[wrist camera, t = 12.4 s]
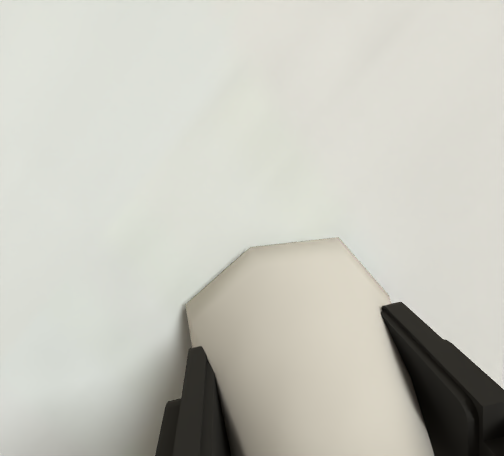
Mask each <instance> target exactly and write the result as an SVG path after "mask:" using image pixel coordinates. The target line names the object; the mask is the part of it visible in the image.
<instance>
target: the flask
mask: <svg viewBox="0 0 504 456" xmlns="http://www.w3.org/2000/svg"><path fill="white" fill-rule="evenodd" d="M388 304H391V301H390V298H389V295H388V294H387V293H386V292H385V290H384V289H383V288H382V287H381V286H380V285H379V283H378V282H377V281H376V280H375V279H374V278H373V277H372V275H371V274H370V273H369V272H368V271H367V270H366V268H365V267H364V266H363V265H362V264H361V263H360V261H359V260H358V259H357V258H356V257H355V256H354V254H353V253H352V252H351V251H350V250H349V249H348V248H347V246H346V245H345V244H344V243H343V242H342V241H341V239H340V238H339V237H336V238H327V239H318V240H309V241H301V242H292V243H283V244H274V245H265V246H256V247H250V248H249V249H248V250H247V251H245V252H244V253H243V254H242V255H241V256H240V257H239V258H238V259H236V260H235V261H234V262H233V263H232V264H231V265H230V266H229V267H227V268H226V269H225V270H224V271H223V272H222V273H221V274H220V275H218V276H217V277H216V278H215V279H214V280H213V281H212V282H210V283H209V284H208V285H207V286H206V287H205V288H204V289H203V290H201V291H200V292H199V293H198V294H197V295H196V296H195V297H194V298H192V299H191V300H190V301H189V302H188V303H187V304H186V312H187V318H188V324H189V331H190V337H191V344H192V348H194V347H198V346H202V347H203V349H204V351H205V353H206V356H207V359H208V361H209V363H210V365H211V367H212V369H213V371H214V374H215V379H216V384H217V389H218V393H219V398H220V403H221V408H222V413H223V418H224V422H225V427H226V432H227V437H228V442H229V447H230V452H231V456H434V452H433V449H432V446H431V442H430V439H429V436H428V433H427V429H426V426H425V423H424V419H423V416H422V413H421V410H420V406H419V403H418V400H417V396H416V393H415V390H414V387H413V383H412V380H411V377H410V375H409V373H408V370H407V368H406V366H405V364H404V362H403V360H402V358H401V356H400V354H399V351H398V349H397V347H396V345H395V343H394V341H393V339H392V337H391V335H390V333H389V330H388V328H387V326H386V324H385V322H384V320H383V318H382V316H381V311H383V310H382V308H381V307H382V306H384V305H388Z"/></svg>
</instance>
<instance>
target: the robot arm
mask: <svg viewBox="0 0 504 456" xmlns="http://www.w3.org/2000/svg"><path fill="white" fill-rule="evenodd" d="M381 308H382V310H383V311H381V316H382V318H383V320H384V322H385V324H386V326H387V328H388V330H389V333H390V335H391V337H392V339H393V341H394V343H395V345H396V347H397V349H398V351H399V354H400V356H401V358H402V360H403V362H404V364H405V366H406V368H407V370H408V373H409V375H410V377H411V380H412V383H413V387H414V390H415V393H416V396H417V400H418V403H419V406H420V410H421V413H422V416H423V419H424V423H425V426H426V429H427V433H428V436H429V439H430V442H431V446H432V449H433V452H434V456H504V390H503V389H502V388H501V387H500V386H499V385H498V384H497V383H496V382H495V381H493V380H492V379H491V378H490V377H489V376H488V375H487V374H486V373H484V372H483V371H482V370H481V369H480V368H479V367H478V366H477V365H475V364H474V363H473V362H472V361H471V360H470V359H469V358H468V357H466V356H465V355H464V354H463V353H462V352H461V351H460V350H459V349H457V348H456V347H455V346H454V345H453V344H452V343H450V342H449V341H447V340H444V339H442V338H441V337H440V336H439V335H438V334H436V333H435V332H434V331H433V330H432V329H431V328H430V327H429V326H428V325H427V324H425V323H424V322H423V321H422V320H421V319H420V318H419V317H418V316H417V315H415V314H414V313H413V312H412V311H411V310H410V309H409V308H408V307H407V306H406V305H404V304H403V303H402V302H397V303H393V304H388V305H384V306H382V307H381ZM155 456H231V452H230V447H229V442H228V437H227V432H226V427H225V422H224V418H223V413H222V408H221V403H220V398H219V393H218V389H217V384H216V379H215V374H214V371H213V369H212V367H211V365H210V363H209V361H208V359H207V356H206V353H205V351H204V349H203V347H202V346H198V347H194V348H190V349H189V353H188V359H187V366H186V372H185V378H184V385H183V391H182V398H181V399H177V400H172V401H168V403H167V404H166V407H165V412H164V416H163V421H162V426H161V431H160V436H159V440H158V445H157V450H156V455H155Z"/></svg>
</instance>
